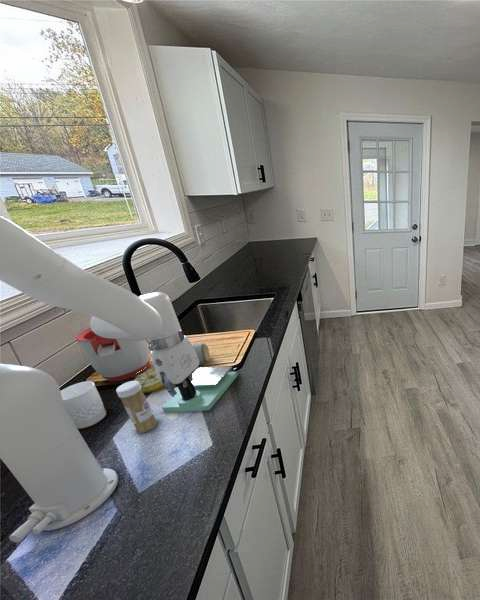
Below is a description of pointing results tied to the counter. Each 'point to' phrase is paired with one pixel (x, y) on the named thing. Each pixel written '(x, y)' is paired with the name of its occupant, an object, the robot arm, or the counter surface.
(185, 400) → the tare button
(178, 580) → the counter surface
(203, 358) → the ceramic mug
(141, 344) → the citrus juicer
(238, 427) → the counter surface
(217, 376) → the scale pan
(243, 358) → the counter surface
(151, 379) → the decorated donut
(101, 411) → the white cup
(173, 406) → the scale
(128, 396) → the sprinkles bottle
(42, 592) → the counter surface
